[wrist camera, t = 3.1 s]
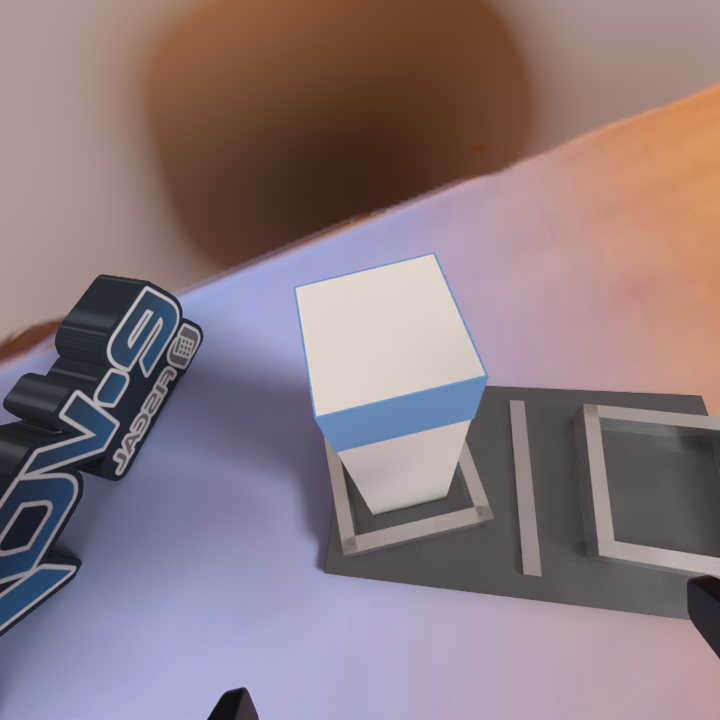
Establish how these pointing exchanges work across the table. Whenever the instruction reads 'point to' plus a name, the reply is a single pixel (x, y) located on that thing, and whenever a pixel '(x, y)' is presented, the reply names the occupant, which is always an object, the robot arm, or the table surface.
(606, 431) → the panel
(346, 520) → the gray square frame
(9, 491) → the logo
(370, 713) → the table surface
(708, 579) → the robot arm
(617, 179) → the table surface
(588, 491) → the grey square holder
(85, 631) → the table surface
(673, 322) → the table surface
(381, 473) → the plug
